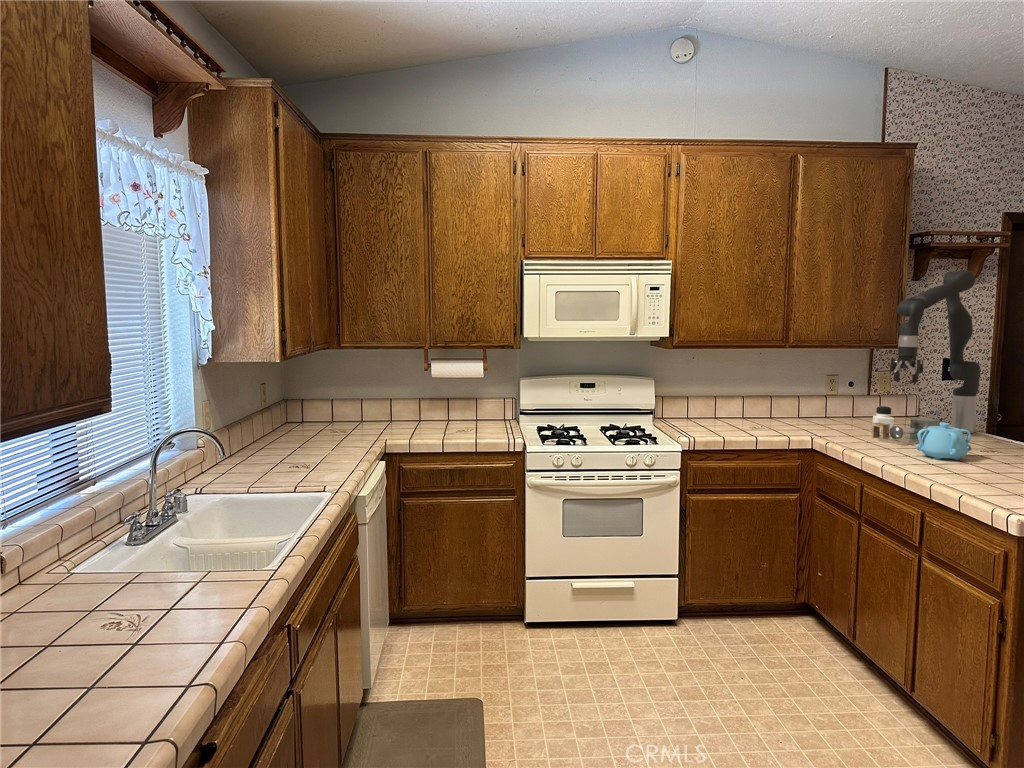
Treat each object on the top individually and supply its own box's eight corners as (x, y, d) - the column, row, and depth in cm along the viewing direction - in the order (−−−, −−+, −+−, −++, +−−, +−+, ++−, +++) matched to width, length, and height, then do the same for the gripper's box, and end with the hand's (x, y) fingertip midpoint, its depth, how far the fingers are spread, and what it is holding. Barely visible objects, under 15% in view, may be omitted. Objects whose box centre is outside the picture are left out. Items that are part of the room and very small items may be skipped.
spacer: (877, 436, 304) (878, 422, 303) (889, 438, 298) (889, 424, 298) (871, 437, 302) (871, 423, 302) (882, 439, 297) (883, 424, 296)
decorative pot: (977, 459, 256) (979, 424, 255) (953, 463, 249) (955, 427, 247) (933, 451, 270) (935, 418, 269) (909, 456, 263) (911, 421, 262)
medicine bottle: (893, 433, 312) (894, 407, 311) (877, 432, 313) (878, 407, 312) (888, 430, 319) (889, 405, 318) (872, 430, 320) (873, 405, 319)
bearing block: (919, 436, 304) (920, 416, 303) (945, 440, 293) (946, 420, 292) (878, 440, 294) (879, 420, 294) (902, 445, 283) (903, 425, 282)
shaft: (918, 434, 299) (919, 422, 298) (930, 436, 294) (931, 424, 293) (889, 437, 292) (889, 425, 292) (900, 440, 287) (901, 427, 287)
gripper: (929, 346, 291) (926, 383, 293) (899, 345, 305) (896, 380, 306) (916, 346, 289) (914, 383, 290) (887, 345, 302) (885, 380, 303)
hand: (905, 382), depth 298 cm, fingers open, 8 cm apart
